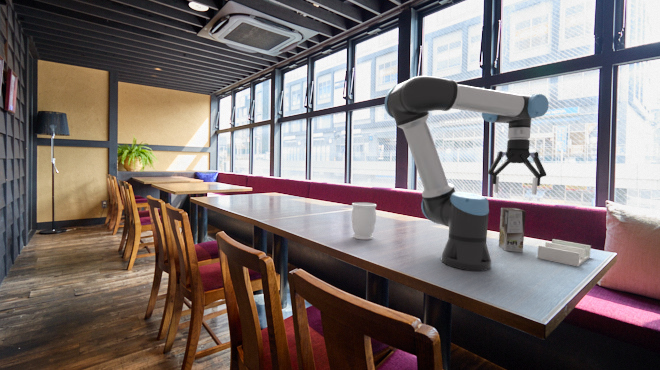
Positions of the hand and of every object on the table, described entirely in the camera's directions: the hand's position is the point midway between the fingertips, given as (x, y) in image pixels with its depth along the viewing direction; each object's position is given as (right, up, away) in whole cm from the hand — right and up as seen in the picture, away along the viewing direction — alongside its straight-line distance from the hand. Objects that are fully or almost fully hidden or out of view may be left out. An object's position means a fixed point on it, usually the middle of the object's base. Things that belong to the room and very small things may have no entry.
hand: (514, 193), depth 127 cm
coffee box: (-1, -22, +2) cm, 23 cm away
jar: (-59, -20, +13) cm, 63 cm away
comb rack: (+13, -23, -9) cm, 28 cm away
